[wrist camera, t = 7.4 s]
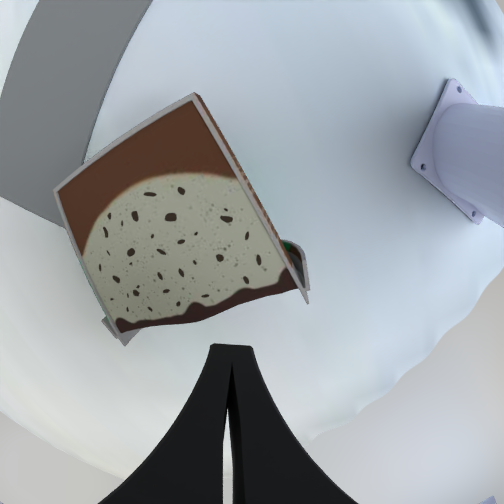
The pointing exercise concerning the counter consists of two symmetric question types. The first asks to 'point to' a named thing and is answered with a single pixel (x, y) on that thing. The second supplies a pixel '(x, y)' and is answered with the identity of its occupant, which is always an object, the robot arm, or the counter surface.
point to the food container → (173, 225)
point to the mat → (58, 94)
